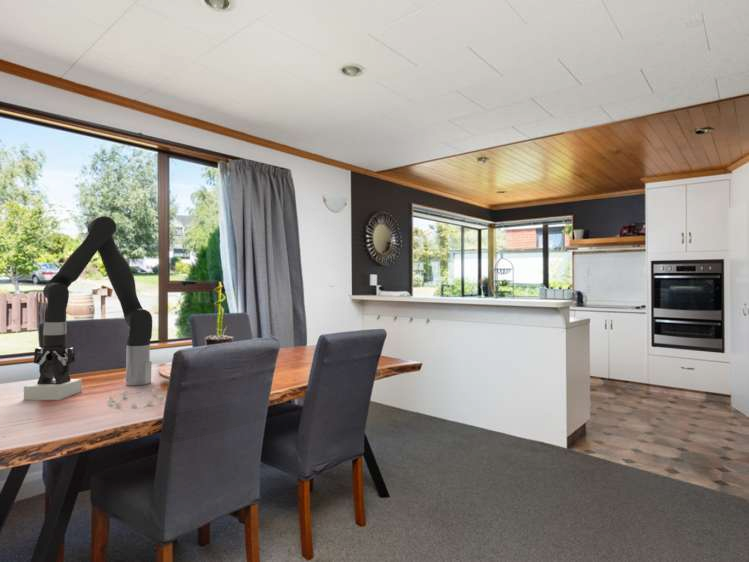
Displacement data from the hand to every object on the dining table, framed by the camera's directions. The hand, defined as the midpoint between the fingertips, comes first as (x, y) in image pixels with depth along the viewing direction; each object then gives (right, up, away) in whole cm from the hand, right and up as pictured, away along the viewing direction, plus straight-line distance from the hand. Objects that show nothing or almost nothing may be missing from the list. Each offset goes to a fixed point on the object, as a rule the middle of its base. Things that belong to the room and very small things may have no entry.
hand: (54, 374), depth 179 cm
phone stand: (0, -3, 0) cm, 3 cm away
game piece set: (+36, -9, -7) cm, 38 cm away
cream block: (0, -8, 0) cm, 8 cm away
